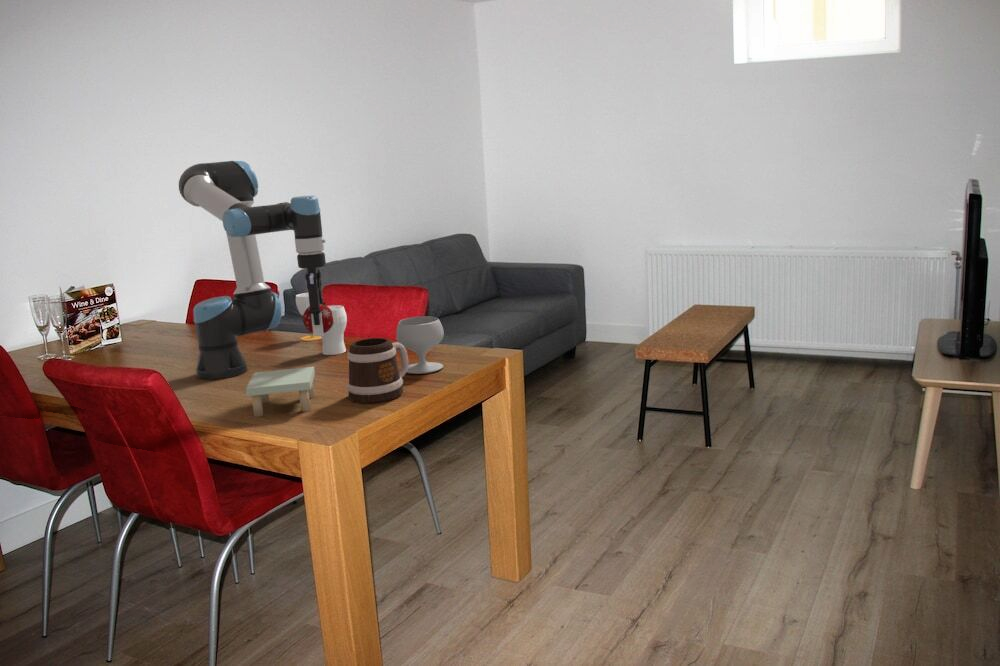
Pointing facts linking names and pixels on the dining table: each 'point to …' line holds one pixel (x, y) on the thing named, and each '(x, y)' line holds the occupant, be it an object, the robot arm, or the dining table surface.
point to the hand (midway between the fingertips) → (319, 332)
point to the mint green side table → (281, 386)
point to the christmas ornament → (326, 318)
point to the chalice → (420, 340)
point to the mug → (375, 370)
